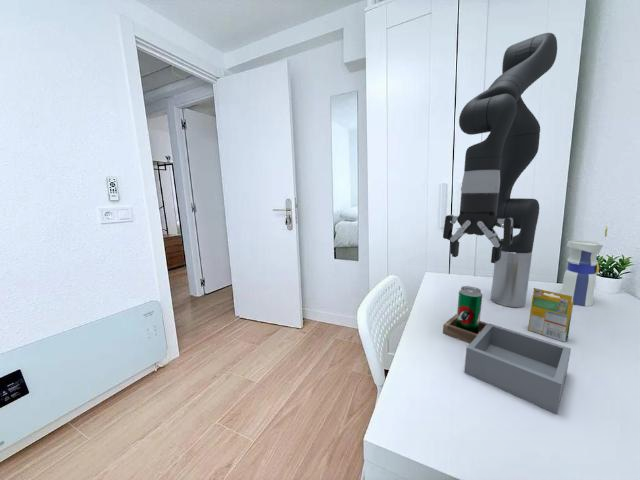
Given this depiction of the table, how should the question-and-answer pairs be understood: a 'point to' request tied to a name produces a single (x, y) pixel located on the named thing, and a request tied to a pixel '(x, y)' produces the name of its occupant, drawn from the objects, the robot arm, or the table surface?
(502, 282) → the robot arm
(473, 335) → the frame
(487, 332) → the bin
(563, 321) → the crayon box
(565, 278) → the white plastic bottle
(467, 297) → the soda can
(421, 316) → the table surface
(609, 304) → the table surface
